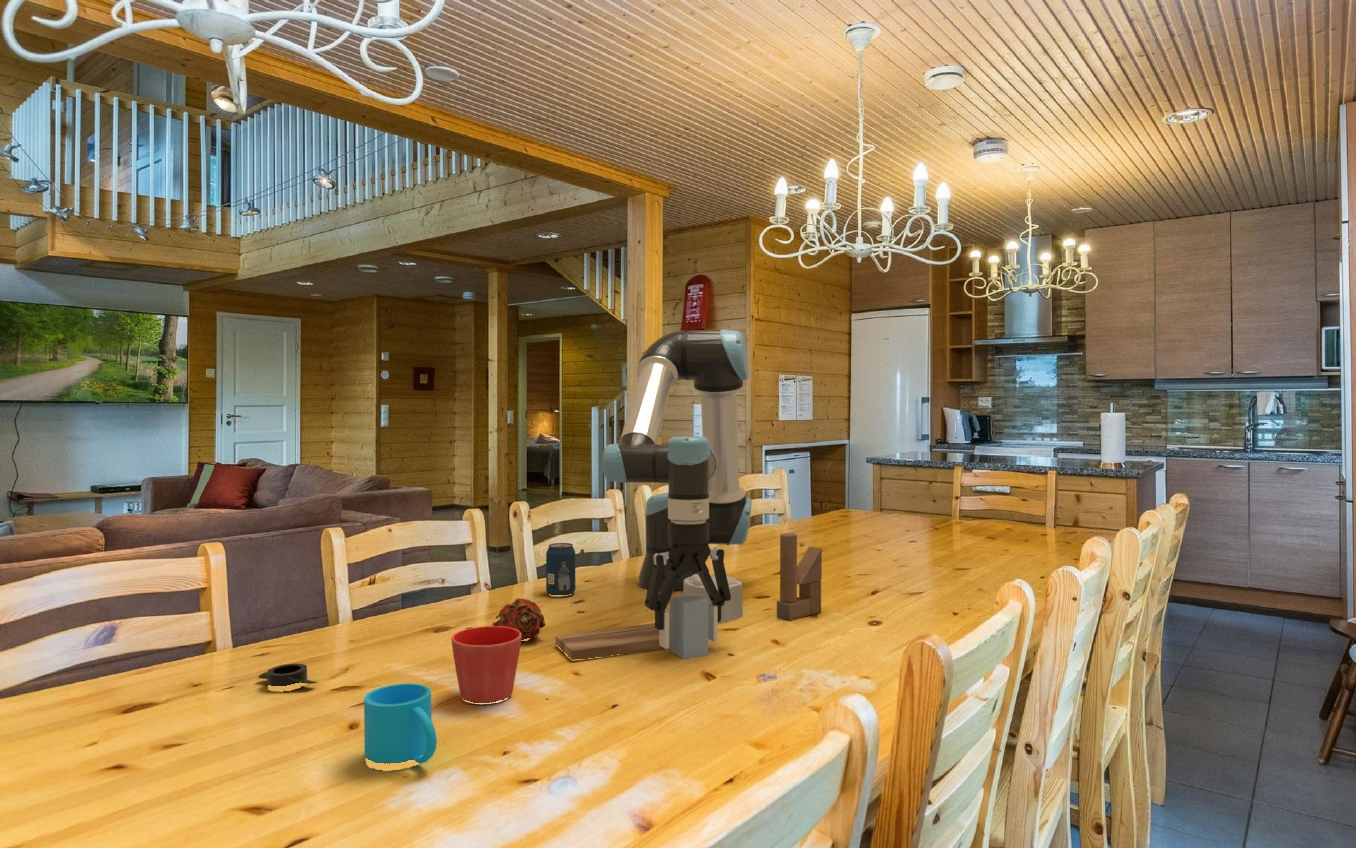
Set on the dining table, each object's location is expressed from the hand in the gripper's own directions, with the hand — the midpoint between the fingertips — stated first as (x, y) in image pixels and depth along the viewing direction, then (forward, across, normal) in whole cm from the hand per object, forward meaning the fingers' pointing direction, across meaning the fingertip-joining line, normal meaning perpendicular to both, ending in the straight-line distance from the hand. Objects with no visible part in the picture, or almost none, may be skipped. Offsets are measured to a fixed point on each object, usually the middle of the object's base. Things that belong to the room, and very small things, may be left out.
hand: (688, 643), depth 145 cm
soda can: (+2, -8, +53) cm, 53 cm away
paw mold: (+2, +16, +22) cm, 27 cm away
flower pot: (+2, -38, -6) cm, 39 cm away
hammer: (+2, 0, +4) cm, 5 cm away
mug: (+2, -52, -24) cm, 57 cm away
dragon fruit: (+2, -26, +22) cm, 34 cm away
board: (+2, -8, +9) cm, 12 cm away
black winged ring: (+2, -66, +12) cm, 67 cm away
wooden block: (+2, +33, +13) cm, 35 cm away
